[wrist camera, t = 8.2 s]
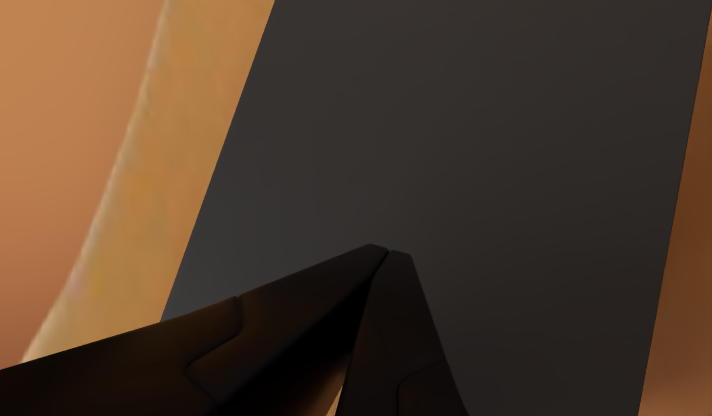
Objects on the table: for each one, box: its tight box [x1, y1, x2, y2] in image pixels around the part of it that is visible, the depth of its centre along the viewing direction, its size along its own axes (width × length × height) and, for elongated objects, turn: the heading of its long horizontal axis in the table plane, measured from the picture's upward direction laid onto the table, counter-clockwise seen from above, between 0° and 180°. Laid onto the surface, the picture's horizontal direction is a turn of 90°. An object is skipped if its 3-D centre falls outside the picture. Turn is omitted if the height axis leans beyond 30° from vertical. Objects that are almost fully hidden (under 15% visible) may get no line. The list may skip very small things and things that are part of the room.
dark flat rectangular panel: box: [160, 0, 712, 416], centre depth 14 cm, size 13×12×1 cm
